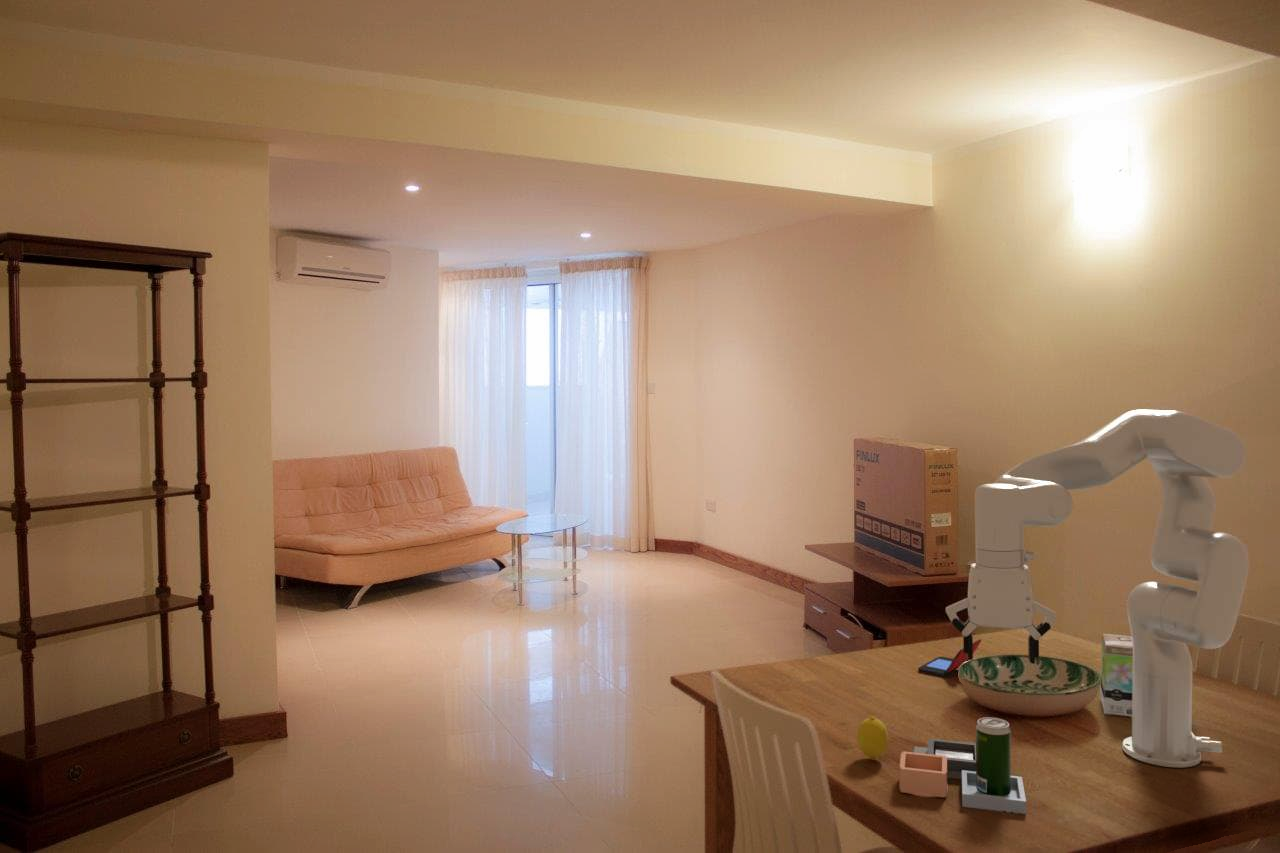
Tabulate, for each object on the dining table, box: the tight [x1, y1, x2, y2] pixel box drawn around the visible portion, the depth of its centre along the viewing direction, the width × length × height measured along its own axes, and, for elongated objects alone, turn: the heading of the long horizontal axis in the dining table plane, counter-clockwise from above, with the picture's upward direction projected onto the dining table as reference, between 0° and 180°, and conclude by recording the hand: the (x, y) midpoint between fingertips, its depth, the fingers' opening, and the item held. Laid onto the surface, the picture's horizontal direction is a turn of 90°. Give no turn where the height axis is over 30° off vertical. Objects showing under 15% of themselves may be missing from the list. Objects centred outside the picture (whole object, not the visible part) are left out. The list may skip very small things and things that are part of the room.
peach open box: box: [898, 750, 949, 798], centre depth 159 cm, size 8×8×4 cm
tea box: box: [1099, 633, 1133, 718], centre depth 192 cm, size 15×10×15 cm
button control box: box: [913, 738, 976, 780], centre depth 167 cm, size 14×10×3 cm
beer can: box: [975, 716, 1012, 797], centre depth 154 cm, size 5×5×12 cm
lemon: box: [856, 716, 889, 761], centre depth 170 cm, size 6×6×8 cm
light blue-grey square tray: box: [961, 770, 1027, 815], centre depth 155 cm, size 10×10×2 cm
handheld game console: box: [917, 639, 982, 679], centre depth 221 cm, size 12×11×7 cm
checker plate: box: [935, 748, 973, 760], centre depth 167 cm, size 6×6×1 cm
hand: (1000, 659), depth 156 cm, fingers open, 9 cm apart
